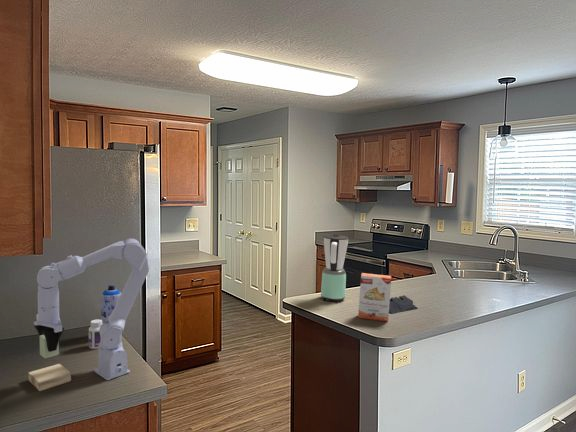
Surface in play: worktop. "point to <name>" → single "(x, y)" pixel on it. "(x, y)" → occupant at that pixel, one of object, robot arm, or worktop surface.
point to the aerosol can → (108, 302)
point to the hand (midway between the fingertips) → (49, 348)
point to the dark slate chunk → (401, 305)
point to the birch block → (49, 377)
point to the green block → (44, 349)
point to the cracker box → (374, 297)
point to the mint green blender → (334, 268)
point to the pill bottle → (94, 334)
